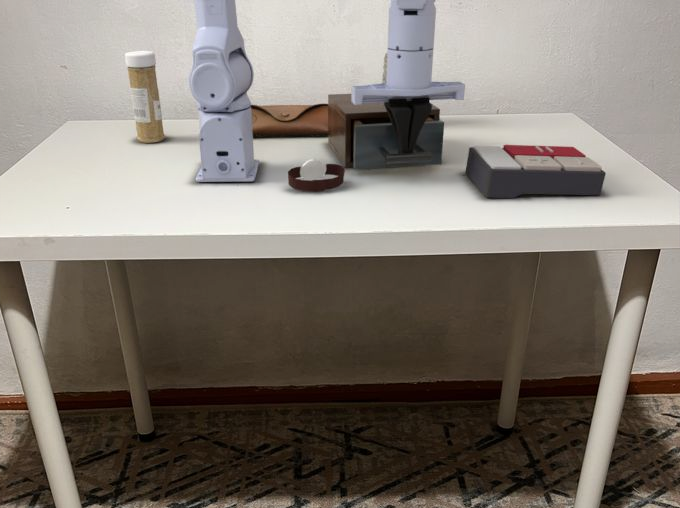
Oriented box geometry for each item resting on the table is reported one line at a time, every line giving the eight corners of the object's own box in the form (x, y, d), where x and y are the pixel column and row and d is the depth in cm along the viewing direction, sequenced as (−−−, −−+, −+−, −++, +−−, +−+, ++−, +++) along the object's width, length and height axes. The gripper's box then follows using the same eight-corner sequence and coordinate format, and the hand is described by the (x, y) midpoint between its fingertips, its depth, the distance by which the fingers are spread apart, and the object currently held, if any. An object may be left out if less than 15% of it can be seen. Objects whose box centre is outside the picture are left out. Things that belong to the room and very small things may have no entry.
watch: (338, 179, 96) (338, 152, 94) (349, 189, 92) (350, 161, 91) (284, 184, 94) (283, 157, 92) (293, 195, 90) (292, 167, 89)
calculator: (608, 166, 87) (490, 163, 86) (600, 200, 90) (485, 197, 88) (576, 144, 97) (469, 141, 96) (569, 175, 99) (464, 172, 98)
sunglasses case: (231, 136, 115) (229, 95, 115) (234, 149, 122) (233, 110, 122) (341, 134, 116) (339, 93, 116) (338, 146, 123) (336, 108, 123)
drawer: (453, 175, 94) (457, 131, 91) (363, 180, 93) (364, 136, 90) (416, 142, 109) (418, 103, 106) (337, 146, 108) (338, 107, 105)
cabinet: (436, 162, 103) (440, 109, 99) (345, 168, 101) (345, 113, 97) (410, 139, 114) (413, 90, 110) (328, 144, 112) (328, 94, 108)
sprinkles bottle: (170, 140, 115) (160, 52, 108) (146, 145, 113) (134, 55, 106) (155, 135, 118) (144, 49, 111) (131, 140, 116) (118, 52, 109)
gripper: (455, 42, 92) (446, 146, 99) (346, 45, 90) (346, 152, 97) (474, 49, 86) (464, 160, 93) (358, 53, 84) (357, 166, 91)
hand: (404, 157), depth 94 cm, fingers closed, pressing on drawer
